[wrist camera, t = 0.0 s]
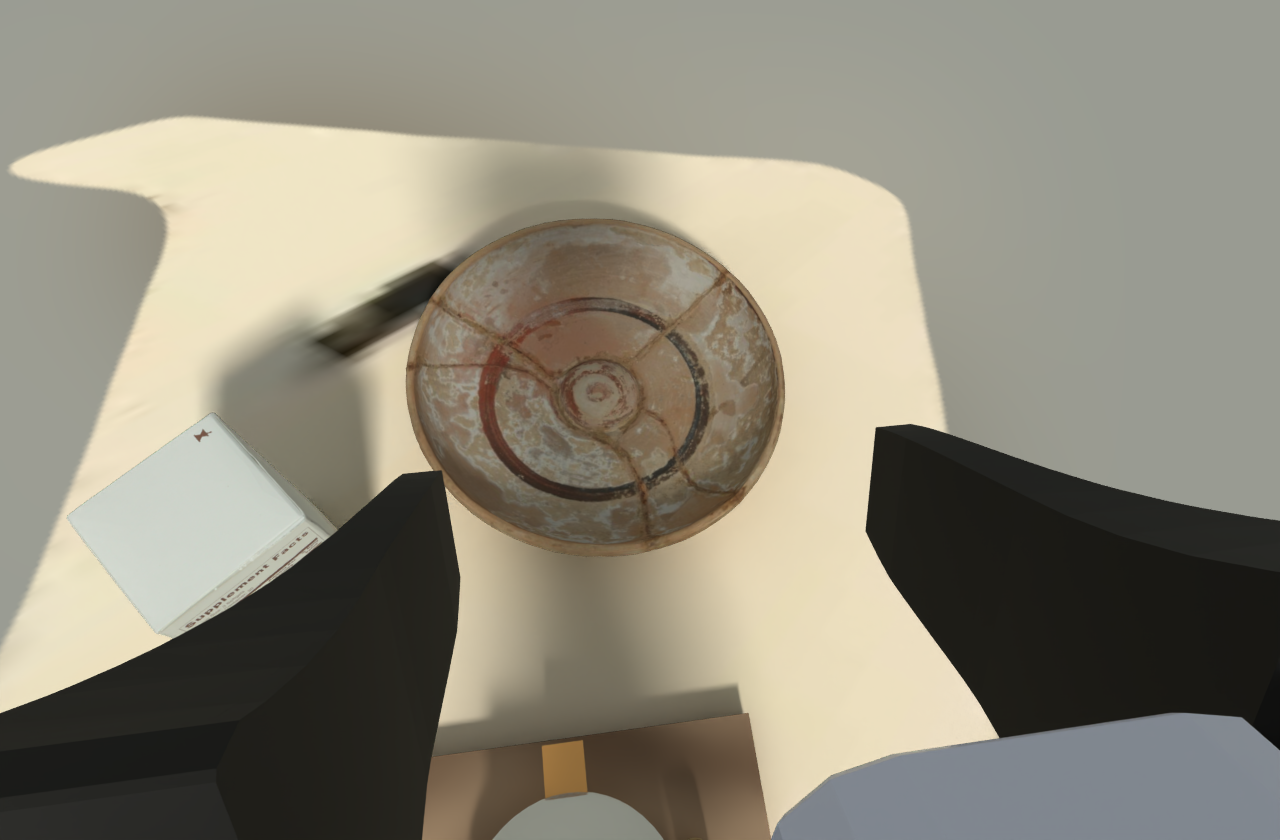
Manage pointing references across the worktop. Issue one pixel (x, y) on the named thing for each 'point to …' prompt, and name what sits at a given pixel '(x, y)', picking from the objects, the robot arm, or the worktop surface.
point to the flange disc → (575, 806)
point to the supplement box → (198, 527)
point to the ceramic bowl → (595, 387)
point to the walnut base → (613, 782)
